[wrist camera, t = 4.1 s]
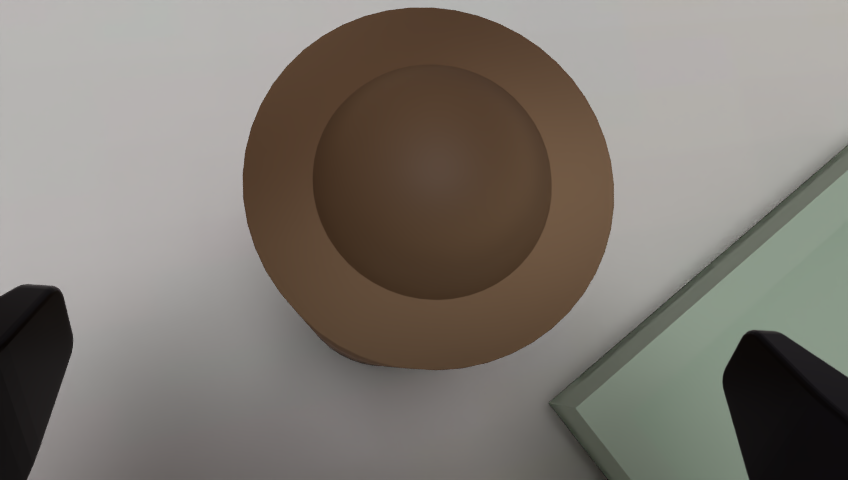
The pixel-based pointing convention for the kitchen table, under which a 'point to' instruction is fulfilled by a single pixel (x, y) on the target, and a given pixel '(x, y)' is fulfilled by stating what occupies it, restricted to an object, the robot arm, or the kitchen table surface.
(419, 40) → the mill
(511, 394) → the kitchen table surface
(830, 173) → the tray
